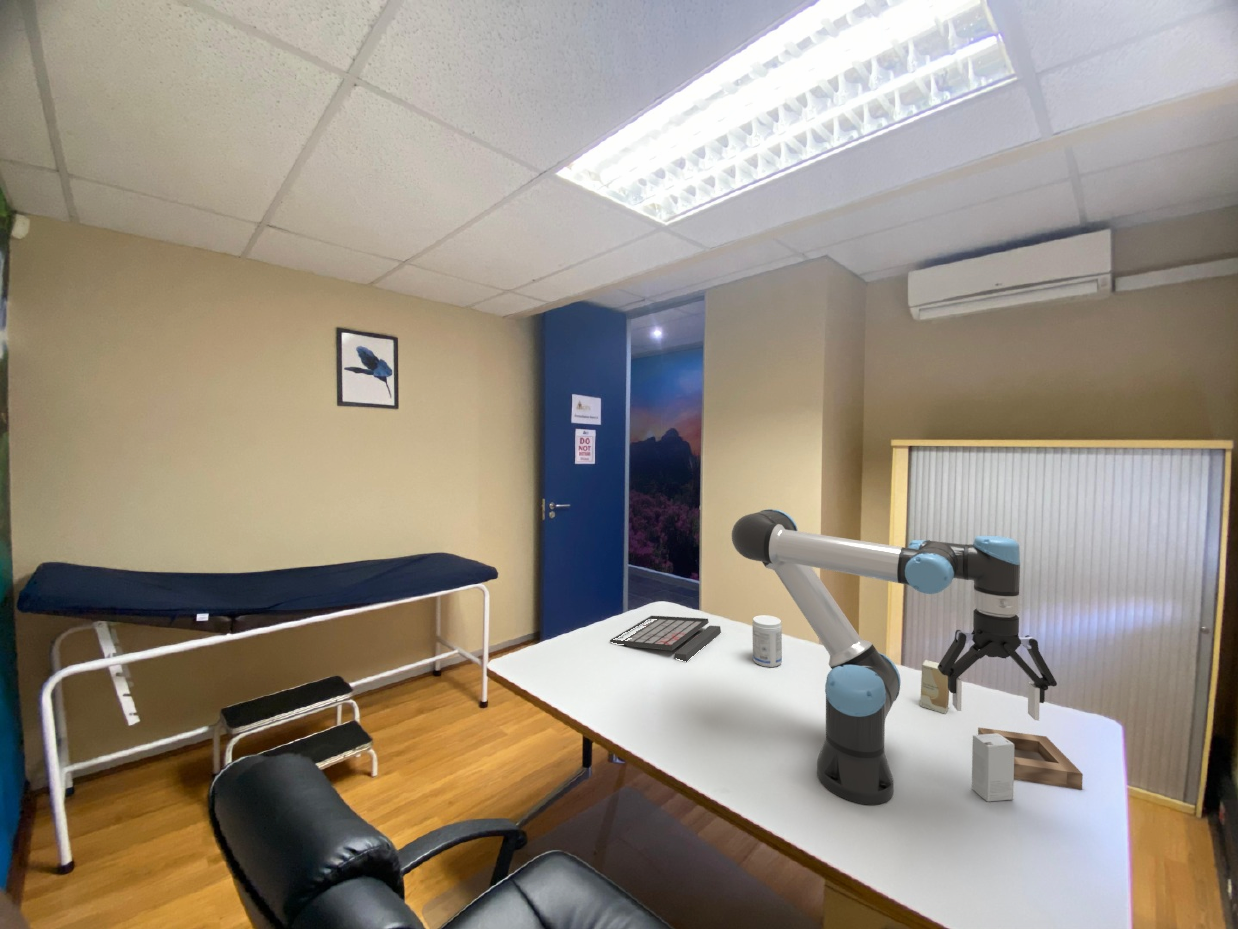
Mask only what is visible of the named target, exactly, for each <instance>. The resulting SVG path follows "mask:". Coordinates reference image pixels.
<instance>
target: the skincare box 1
mask: <svg viewBox="0 0 1238 929" xmlns="http://www.w3.org/2000/svg"><path fill="white" fill-rule="evenodd" d="M939 663H940V662H935V661H931V660H928V659H925V660H924V661H923V662H922V664H921V680H920V682H921V683H920V684H921V685H920V704H919V705H920V707H923V708H925V709H929V710H932V711H934V712H937V713H941V714H945V715H946V713H947V712H948V710H949V705H950V704H949V703H950V702H949V700H950V691H949V689H948V676H946V675H943V674H942V673H941V672H940V671H939V669H938V665H939Z"/></svg>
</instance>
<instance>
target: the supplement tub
mask: <svg viewBox="0 0 1238 929" xmlns="http://www.w3.org/2000/svg"><path fill="white" fill-rule="evenodd" d="M782 628H783V627H782V620H781V619H780V618H779V617H776V616H773V615H768V614H765V615H764V614H763V615H756V616H754V617H753V618H752V659H753V661H754V663H755V664H757V665H759V666H762V667H766V668H775V667H778V666H780V665H781V664H782V662H783V661H782V660H783V653H782V652H783V646H782V645H783V644H782V643H783V642H782V639H783V637H782V636H783V635H782V633H783V632H782Z"/></svg>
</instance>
